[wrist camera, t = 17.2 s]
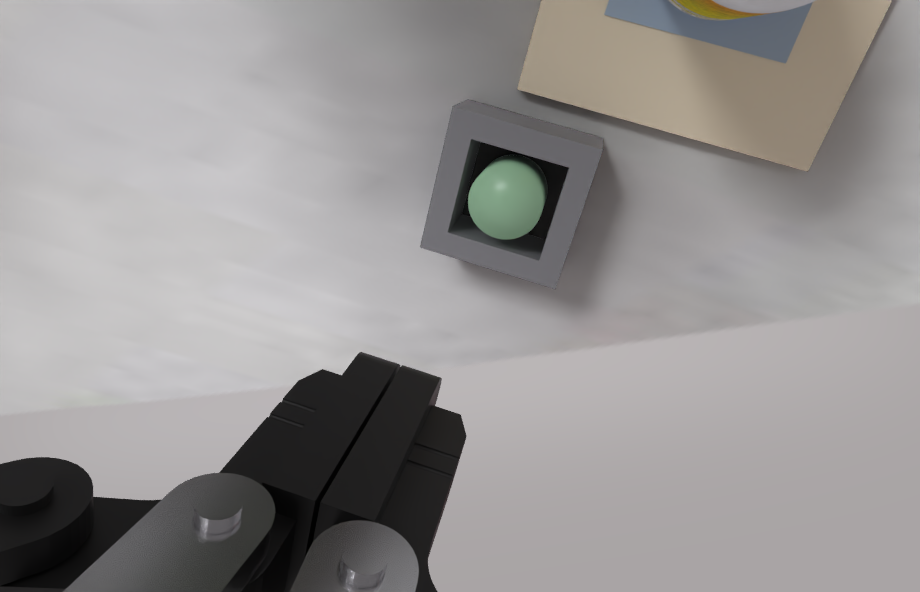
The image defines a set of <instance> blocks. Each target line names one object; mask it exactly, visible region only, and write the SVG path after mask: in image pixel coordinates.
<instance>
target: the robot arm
mask: <svg viewBox="0 0 920 592" xmlns="http://www.w3.org/2000/svg"><path fill="white" fill-rule="evenodd" d="M440 385H441V378H440V377H437V376H433V375H431V374H428V373H425V372H422V371H419V370H415V369H412V368H409V367H406V366H401V367H400V365H399V364H397V363H393V362H390V361H387V360H384V359H381V358H378V357H375V356H372V355H369V354H366V353H363V352H360V353H359V354H358V355H357V356H356V357H355V359H354V360H353V361H352V363H351V364H350V365H349V367H348V368H347V369H346V371H345V372H344V373H343V375H342V376H341V375H338V374H335V373H332V372H329V371H326V370H323V369H322V370H320V371H318V372H316V373H314V374H312V375H310V376H307V377H305V378H303V379H301V380H299V381H298V382H297V383H296V384H295V385H294V387H293V388H292V389H291V390H290V391H289V392H288V393H287V395H286V396H285V397H284V398H283V401H282V402H280V403H279V404H278V405H277V406H276V407H275V409H274V410H273V411H272V412H271V414H270V416H269V417H267V418H266V419H265V420H264V421H263V423H262V424H261V425H260V426H259V427H258V428H257V430H256V431H255V432H254V433H253V434H252V435H251V436H250V438H249V439H248V440H247V441H246V442H245V443H244V445H243V446H242V447H241V448H240V449H239V451H238V452H237V453H236V454H235V455H234V456H233V457H232V459H231V460H230V461H229V462H228V463H227V464H226V465H225V467H224V468H223V469H222V470H221V471H220V472H219V473H212V474H206V475H202V476H198V477H194V478H192V479H190V480H187V481H185V482H183V483H182V484H180V485H178V486H177V487H176V488H174V489H173V490H172V491H171V492H169V493H168V494H167V495H166V496H165V497H164V498H163V499H162V500H130V499H115V498H102V497H93V485H92V480H91V478H90V477H89V475H88V473H87V472H86V471H85V470H84V469H83V468H81V467H80V466H78V465H77V464H74V463H72V462H69V461H66V460H62V459H57V458H49V457H45V458H44V457H41V458H40V457H39V458H27V459H21V460H16V461H12V462H8V463H3V464H0V592H437V590H436V588H435V587H434V584H433V583H432V580H431V577H430V574H429V569H428V557H429V554H430V550H431V547H432V544H433V541H434V538H435V535H436V532H437V529H438V526H439V523H440V520H441V517H442V514H443V510H444V508H445V504H446V501H447V498H448V495H449V491H450V488H451V485H452V482H453V478H454V475H455V472H456V469H457V466H458V462H459V459H460V456H461V453H462V449H463V446H464V443H465V440H466V433H465V429H464V425H463V422H462V418H461V415H460V414H457V413H454V412H451V411H448V410H445V409H442V408H439V407H436V406H435V404H436V400H437V396H438V393H439V389H440Z"/></svg>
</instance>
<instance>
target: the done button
mask: <svg viewBox="0 0 920 592" xmlns="http://www.w3.org/2000/svg"><path fill="white" fill-rule="evenodd" d="M547 192H548V186H547V180H546V177H545V175H544V173H543V171H542V170H541V168H540V167H539V166H538V165H537V164H536V163H535V162H534V161H532V160H531V159H529V158H527V157H524V156H521V155H505V156H502V157H499V158H497V159H495V160H494V161H492V162H491V163H490V164H489V165H488V166H487V167H486V168H485V169H484V170H483V172H482V173H481V174H480V175H479V176H478V177H477V179H476V180H475V181H474V183H473V184H472V186H471V188H470V191H469V196H468V208H469V212H470V215H471V217H472V219H473V221H474V223H475V224H476V225H477V227H478V228H479V229H480V230H482V231H483V232H484V233H486V234H487V235H489V236H491V237H494V238H498V239H504V240H507V239H515V238H519V237H521V236H523V235H525V234H527V233H528V232H529V231H531V230H532V229H533V228H534V226H535V225H536V224H537V222H538V220H539V218H540V216H541V213H542V210H543V207H544V204H545V201H546V198H547Z"/></svg>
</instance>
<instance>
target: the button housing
mask: <svg viewBox="0 0 920 592" xmlns="http://www.w3.org/2000/svg"><path fill="white" fill-rule="evenodd" d="M480 142H483V143H487V144H490V145H493V146H497V147H500V148H504V149H507V150H510V151H514V152H517V153H521V154H524V155H528V156H531V157H534V158H538V159H541V160H545V161H548V162H551V163H555V164H558V165H562V166H565V167H568V170H567V173H566V176H565V180H564V183H563V186H562V189H561V192H560V195H559V198H558V201H557V204H556V207H555V210H554V214H553V217H552V220H551V223H550V226H549V229H548V232H547V235H546V238H545V239H542V238H539V237H536V236H532V235H529V234H525V235H523V236H521V237H519V238H515V239H507V240H504V239H498V238H494V237H491V236H489V235H487V234H486V233H484V232H483V231H482V230H480V229H479V228H478V227H477V225H476V224H475V223H474V221H473V219H472V217H470V216H467V215H463V214H462V212H463V208H464V204H465V200H466V197H467V193H468V189H469V185H470V181H471V177H472V173H473V169H474V165H475V162H476V158H477V154H478V150H479V146H480ZM602 152H603V138H601V137H598V136H594V135H591V134H587V133H584V132H580V131H577V130H573V129H570V128H566V127H563V126H559V125H556V124H552V123H549V122H545V121H542V120H538V119H535V118H531V117H528V116H524V115H521V114H517V113H514V112H511V111H507V110H504V109H500V108H497V107H493V106H490V105H486V104H483V103H479V102H476V101H472V100H469V99H467V100H465V101H463V102H461V103H459V104H457V105H455V106H453V108H452V112H451V116H450V121H449V125H448V129H447V133H446V138H445V142H444V146H443V151H442V155H441V159H440V164H439V168H438V172H437V176H436V181H435V185H434V189H433V194H432V198H431V202H430V206H429V211H428V215H427V219H426V224H425V228H424V232H423V237H422V241H421V245H420V247H421V248H424V249H427V250H430V251H434V252H437V253H440V254H443V255H446V256H450V257H453V258H456V259H459V260H463V261H466V262H469V263H472V264H475V265H479V266H482V267H485V268H488V269H491V270H495V271H498V272H501V273H504V274H507V275H511V276H514V277H517V278H520V279H524V280H527V281H530V282H533V283H536V284H540V285H543V286H546V287H549V288H552V289H556V286H557V283H558V280H559V277H560V274H561V271H562V268H563V265H564V262H565V259H566V257H567V254H568V251H569V248H570V245H571V242H572V239H573V236H574V233H575V230H576V227H577V225H578V222H579V219H580V216H581V213H582V210H583V207H584V204H585V201H586V198H587V195H588V192H589V190H590V187H591V184H592V181H593V178H594V175H595V172H596V169H597V166H598V163H599V160H600V158H601V155H602Z"/></svg>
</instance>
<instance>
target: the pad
mask: <svg viewBox="0 0 920 592" xmlns="http://www.w3.org/2000/svg"><path fill="white" fill-rule="evenodd" d="M891 2H892V0H816V1H814V2H812V3H809V4H806V5H804V6H801V7H798V8H794V9H791V10H787V11H782V12H776V13H770V14H764V15H758V16H751V17H745V18H738V19H731V20H721V21H715V20H705V19H700V18H697V17H694V16H691V15H689V14H687V13H684V12H683V11H681V10H679V9H678V8H676V7H675V6H674V5H672V4H671V3H670V2H669V1H668V0H541V3H540V7H539V10H538V14H537V18H536V21H535V25H534V29H533V32H532V36H531V40H530V43H529V47H528V51H527V54H526V58H525V62H524V65H523V69H522V73H521V76H520V80H519V84H518V87H517V90H521V91H525V92H528V93H532V94H535V95H539V96H542V97H546V98H549V99H553V100H556V101H560V102H563V103H567V104H570V105H574V106H577V107H581V108H584V109H588V110H592V111H595V112H599V113H602V114H606V115H609V116H613V117H616V118H620V119H623V120H627V121H630V122H634V123H637V124H641V125H644V126H648V127H652V128H655V129H659V130H662V131H666V132H669V133H673V134H676V135H680V136H683V137H687V138H690V139H694V140H697V141H701V142H704V143H708V144H711V145H715V146H719V147H722V148H726V149H729V150H733V151H736V152H740V153H743V154H747V155H750V156H754V157H757V158H761V159H764V160H768V161H771V162H775V163H778V164H782V165H786V166H789V167H793V168H796V169H800V170H803V171H807V172H808V170H809V168H810V166H811V164H812V162H813V160H814V158H815V156H816V154H817V152H818V150H819V148H820V146H821V144H822V142H823V140H824V138H825V136H826V134H827V132H828V130H829V128H830V126H831V124H832V122H833V120H834V118H835V116H836V113H837V111H838V109H839V107H840V105H841V103H842V101H843V99H844V97H845V95H846V93H847V91H848V89H849V87H850V85H851V83H852V81H853V79H854V77H855V75H856V73H857V71H858V69H859V67H860V65H861V63H862V61H863V59H864V57H865V54H866V52H867V50H868V48H869V46H870V44H871V42H872V40H873V38H874V36H875V34H876V32H877V30H878V28H879V26H880V24H881V22H882V20H883V18H884V16H885V14H886V12H887V10H888V8H889V6H890V4H891Z"/></svg>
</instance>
